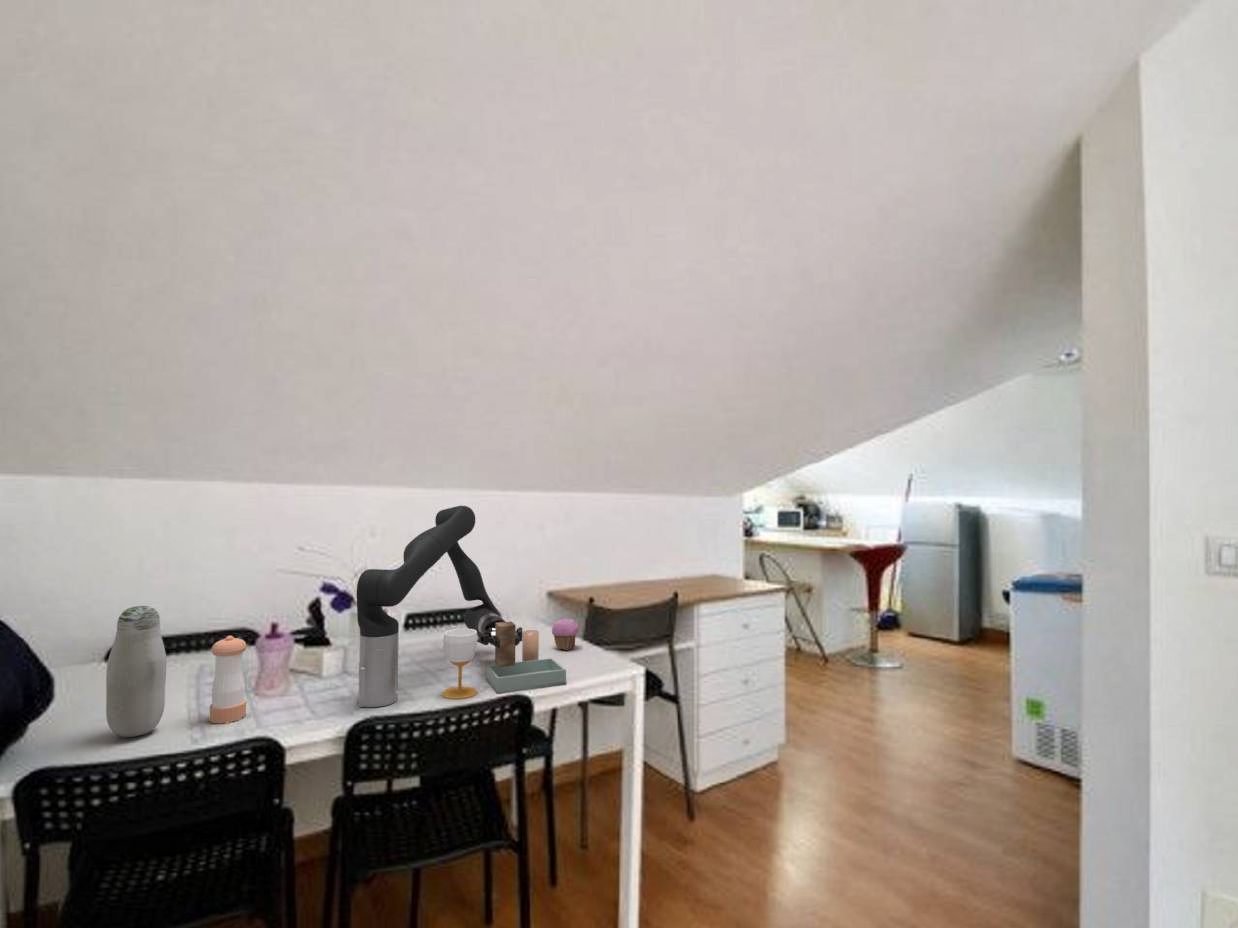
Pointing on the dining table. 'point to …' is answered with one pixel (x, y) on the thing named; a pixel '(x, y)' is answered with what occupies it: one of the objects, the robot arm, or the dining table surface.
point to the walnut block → (505, 644)
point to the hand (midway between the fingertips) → (507, 642)
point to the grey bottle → (136, 673)
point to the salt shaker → (228, 681)
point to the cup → (460, 658)
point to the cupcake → (565, 633)
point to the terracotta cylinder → (530, 645)
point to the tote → (526, 675)
